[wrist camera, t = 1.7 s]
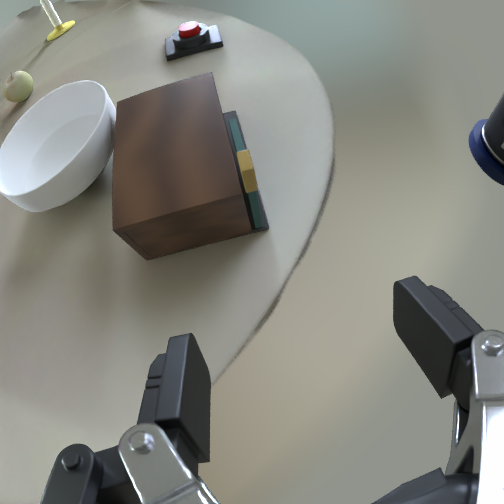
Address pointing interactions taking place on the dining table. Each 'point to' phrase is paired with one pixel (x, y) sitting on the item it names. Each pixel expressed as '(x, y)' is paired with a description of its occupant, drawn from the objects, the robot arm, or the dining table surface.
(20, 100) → the fruit
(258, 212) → the door
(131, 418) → the dining table surface
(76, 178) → the bowl
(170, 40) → the switch box
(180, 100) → the cabinet
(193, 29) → the button
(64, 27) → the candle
